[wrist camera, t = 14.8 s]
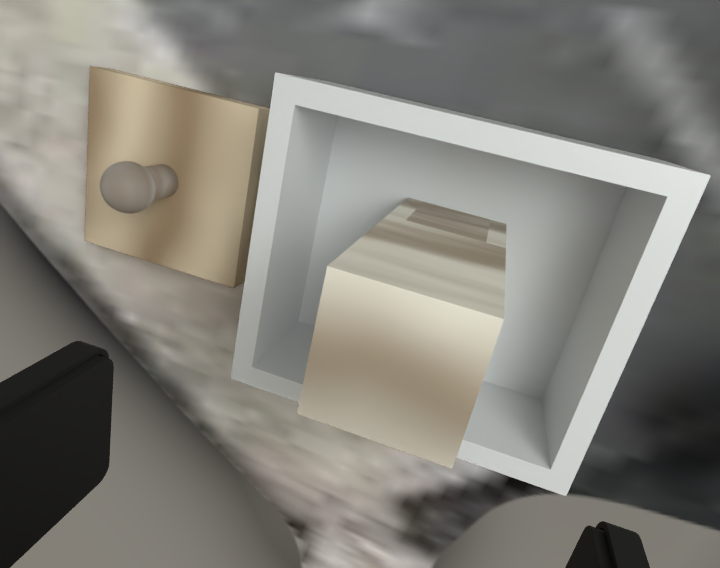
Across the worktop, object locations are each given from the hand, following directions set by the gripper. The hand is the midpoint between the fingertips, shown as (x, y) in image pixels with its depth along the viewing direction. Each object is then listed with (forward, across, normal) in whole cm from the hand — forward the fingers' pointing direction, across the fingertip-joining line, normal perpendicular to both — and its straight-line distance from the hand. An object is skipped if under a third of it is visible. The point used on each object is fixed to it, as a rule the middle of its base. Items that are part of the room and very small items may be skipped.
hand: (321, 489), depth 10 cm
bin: (+20, -1, 0) cm, 20 cm away
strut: (+19, 0, 0) cm, 19 cm away
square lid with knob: (+20, +15, 0) cm, 25 cm away
